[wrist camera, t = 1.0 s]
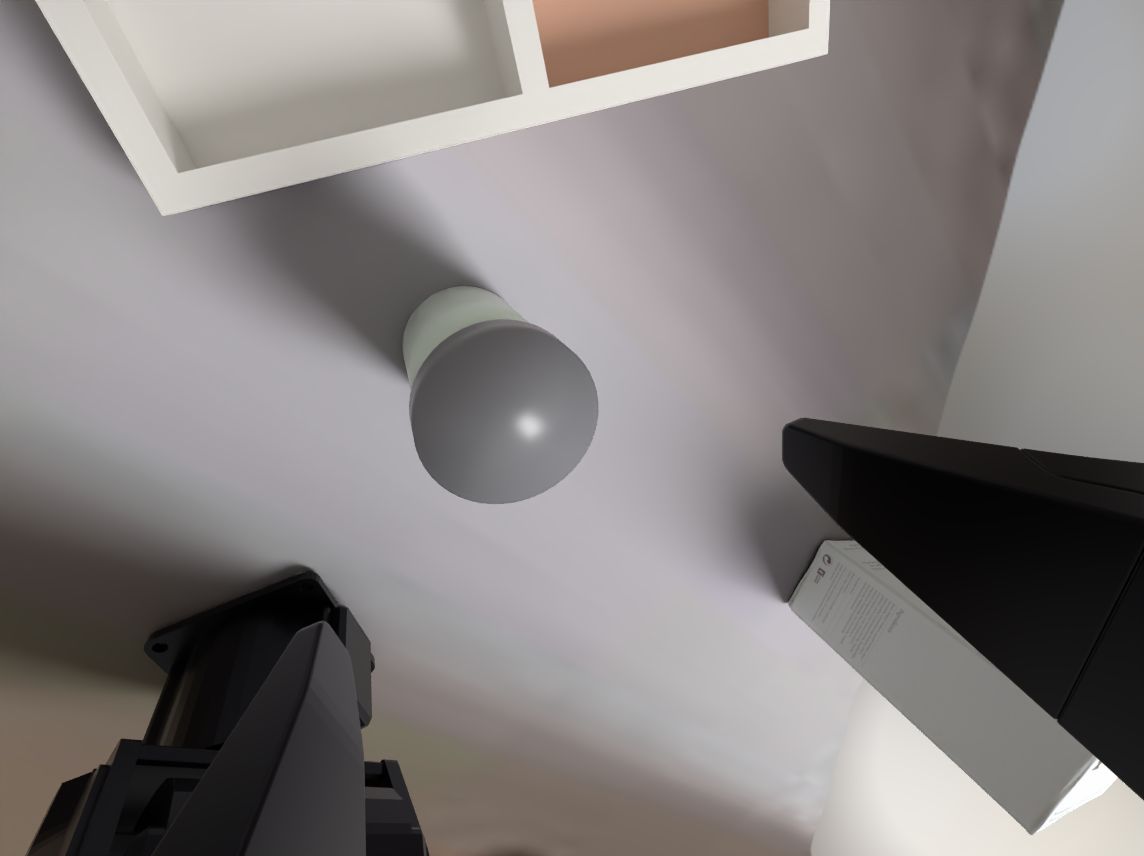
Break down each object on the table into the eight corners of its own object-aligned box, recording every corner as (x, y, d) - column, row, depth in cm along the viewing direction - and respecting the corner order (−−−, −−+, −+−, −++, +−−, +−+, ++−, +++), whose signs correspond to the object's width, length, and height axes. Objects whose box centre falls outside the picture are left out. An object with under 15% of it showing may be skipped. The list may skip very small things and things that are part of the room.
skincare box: (783, 605, 35) (1020, 846, 22) (823, 532, 33) (1107, 752, 20) (862, 601, 38) (1102, 807, 26) (902, 536, 36) (1184, 724, 24)
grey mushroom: (425, 425, 20) (451, 530, 14) (374, 304, 17) (380, 370, 12) (542, 383, 21) (611, 464, 15) (509, 263, 18) (578, 305, 13)
